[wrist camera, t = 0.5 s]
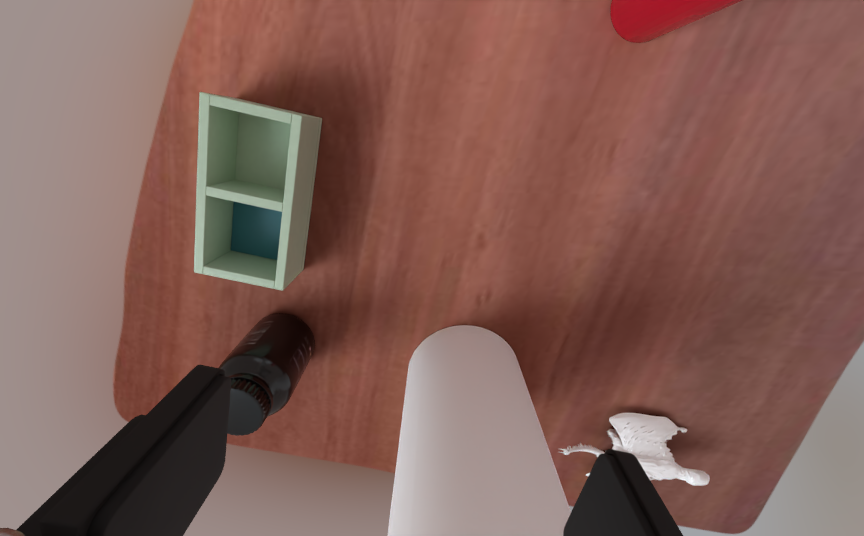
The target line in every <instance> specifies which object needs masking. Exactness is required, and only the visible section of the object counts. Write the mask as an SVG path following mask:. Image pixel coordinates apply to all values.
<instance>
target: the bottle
mask: <svg viewBox="0 0 864 536" xmlns="http://www.w3.org/2000/svg"><path fill="white" fill-rule="evenodd" d="M740 1H742V0H612V3H611V20H612V23H613V26H614V28H615V30H616V31H617V33H618V34H619V35H620V36H621V37H622V38H624V39H626V40H627V41H630V42H635V43H641V42H647V41H650V40H652V39H655V38H657V37H659V36H662V35H664V34H666V33H669V32H671V31H673V30H675V29H678V28H680V27H682V26H685V25H687V24H689V23H692V22H694V21H696V20H699V19H701V18H703V17H705V16H708V15H710V14H712V13H715V12H717V11H719V10H722V9H724V8H726V7H729V6H731V5H733V4H735V3H738V2H740Z"/></svg>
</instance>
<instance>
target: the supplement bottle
mask: <svg viewBox="0 0 864 536" xmlns="http://www.w3.org/2000/svg"><path fill="white" fill-rule="evenodd" d="M314 348H315V340H314V336H313V333H312V331H311V330H310V328H309V327H308V326H307V324H306V323H304V322H303V321H302V320H301V319H299V318H297V317H295V316H292V315H289V314H281V313H279V314H272V315H269V316H267V317H265V318H263V319H262V320H260V321H259V322H258V323H257V324H256V325H255V326H254V327H253V328H252V329H251V331H250V332H249V333H248V334H247V335H246V336H245V337H244V338H243V340H242V341H241V342H240V343H239V344H238V345H237V346H236V347H235V349H234V350H233V351H232V352H231V353H230V354H229V355H228V356H227V358H226V359H225V360H224V361H223V362H222V364H221V365H220V367H219V369H223V370H224V371H225V376H226V377H230V378H231V393H230V405H229V417H228V429H227V433H228V434H231V435H237V436H238V435H248V434H250V433H253V432H254V431H256V430H258V428H259V427H261V426H262V424H263V422H264V421H265V419H266V418H267V416H270V415H272V414H274V413H276V412H278V411H279V410H281V409H282V408H283V407H284V406H285V405H286V404H287V402H288V401H289V399H290V397H291V395H292V393H293V392H294V390H295V388H296V386H297V384H298V382H299V380H300V378H301V376H302V374H303V372H304V370H305V369H306V367H307V365H308V363H309V361H310V359H311V357H312V355H313V352H314Z"/></svg>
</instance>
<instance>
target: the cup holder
mask: <svg viewBox="0 0 864 536" xmlns="http://www.w3.org/2000/svg"><path fill="white" fill-rule="evenodd" d="M321 125H322V118H320V117H315V116H311V115H307V114H303V113H298V112H294V111H290V110H285V109H281V108H277V107H272V106H268V105H264V104H260V103H255V102H251V101H247V100H242V99H238V98H233V97H227V96H221V95H215V94H209V93H204V92H200V98H199V130H198V161H197V193H196V225H195V257H194V272H195V273H200V274H205V275H210V276H215V277H219V278H224V279H229V280H234V281H239V282H244V283H249V284H253V285H258V286H263V287H268V288H273V289H274V288H275V289H277V290H284V289H285V288H286V287H287V286H288V285H289V284H290V283H291V282H292V281H293V280H294V279H295V278H296V277H297V276H298V275H299V274H300V273H301V272H302V271H303V270H304V262H305V254H306V246H307V238H308V230H309V222H310V214H311V206H312V197H313V189H314V181H315V173H316V165H317V157H318V149H319V141H320V133H321Z"/></svg>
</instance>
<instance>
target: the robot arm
mask: <svg viewBox="0 0 864 536" xmlns="http://www.w3.org/2000/svg"><path fill="white" fill-rule="evenodd" d="M230 393H231V378H230V377H226V376H225V371H224V370H223V369H219V368H214V367H209V366H204V365H197V366H196V367H195V368H194V369H193V370H192V371H191V372H190V373H189V374H188V375H187V376H186V377H184V378H183V379H182V380H181V381H180V382H179V383H178V384H177V385H176V386H175V387H174V388H173V389H172V390H171V391H170V392H169V393H168V394H167V395H166V396H165V397H164V398H163V399H162V400H161V401H160V402H159V403H158V404H157V405H156V406H155V407H154V408H153V409H152V410H151V411H150V412H149V413H148V414H147V415H146V416H145V415H139V416H137V417H135V418H134V419H132V420H131V421H130V422H129V423H128V424H127V425H126V426H124V427H123V429H121V430H120V431H119V432H118V433H117V434H116V435H115V436H114V437H113V438H112V439H111V440H110V441H109V442H108V443H107V444H106V445H105V446H104V447H103V448H101V449H100V450H99V451H98V452H97V453H96V454H95V455H94V456H93V457H92V458H91V459H90V460H89V461H88V462H87V463H86V464H85V465H84V466H83V467H82V468H80V469H79V470H78V471H77V473H75V474H74V475H73V476H72V477H71V478H70V479H69V480H68V481H67V482H66V483H65V484H64V485H63V486H62V487H61V488H60V489H59V490H57V491H56V493H54V494H53V495H52V496H51V497H50V498H49V499H48V500H47V501H46V502H45V503H44V504H43V505H42V506H41V507H40V508H39V509H38V510H37V511H36V512H34V514H32V515H31V516H30V517H29V518H28V519H27V520H26V521H25V522H24V523H23V524H22V525H21V526H20V527H19V528H18V529H17V530H13V529H9V528H0V536H183V535H184V533H185V531H186V530H187V528H188V527H189V525H190V523H191V522H192V520H193V518H194V517H195V515H196V514H197V512H198V511H199V509H200V507H201V506H202V504H203V503H204V501H205V499H206V498H207V496H208V495H209V493H210V491H211V490H212V488H213V487H214V485H215V483H216V482H217V480H218V478H219V477H220V475H221V473H222V470H223V467H224V462H225V454H226V442H227V429H228V417H229V405H230ZM563 536H683V535H682V533H681V531H680V530H679V528H678V526H677V525H676V523H675V521H674V520H673V518H672V516H671V515H670V513H669V511H668V510H667V508H666V506H665V505H664V503H663V501H662V500H661V498H660V496H659V495H658V493H657V491H656V490H655V488H654V486H653V484H652V483H651V481H650V479H649V478H648V476H647V474H646V473H645V471H644V469H643V468H642V466H641V464H640V463H639V461H638V459H637V458H636V457H635V455H633V454H632V453H627V452H622V451H618V450H613V449H608V450H607V451H606V452H605V453H604V454H600V455H599V456H598V458H597V460H596V462H595V464H594V466H593V468H592V470H591V472H590V474H589V477H588V479H587V481H586V483H585V485H584V487H583V489H582V491H581V493H580V495H579V497H578V499H577V501H576V504H575V506H574V508H573V510H572V512H571V514H570V516H569V518H568V520H567V522H566V524H565V527H564V531H563Z"/></svg>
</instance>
